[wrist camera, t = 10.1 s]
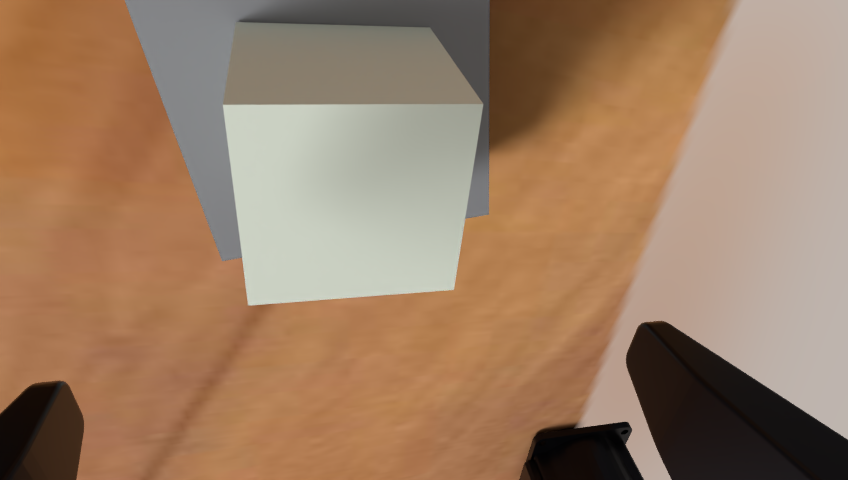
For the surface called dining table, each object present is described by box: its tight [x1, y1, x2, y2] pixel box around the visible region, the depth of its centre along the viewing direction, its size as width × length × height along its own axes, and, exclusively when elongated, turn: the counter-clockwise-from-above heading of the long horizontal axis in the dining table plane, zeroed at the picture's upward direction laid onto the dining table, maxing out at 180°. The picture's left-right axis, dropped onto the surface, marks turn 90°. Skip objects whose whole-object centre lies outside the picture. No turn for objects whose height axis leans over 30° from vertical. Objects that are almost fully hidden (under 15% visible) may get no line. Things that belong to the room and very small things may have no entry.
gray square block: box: [125, 0, 490, 261], centre depth 18 cm, size 9×9×4 cm
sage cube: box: [223, 22, 483, 305], centre depth 14 cm, size 5×5×5 cm
